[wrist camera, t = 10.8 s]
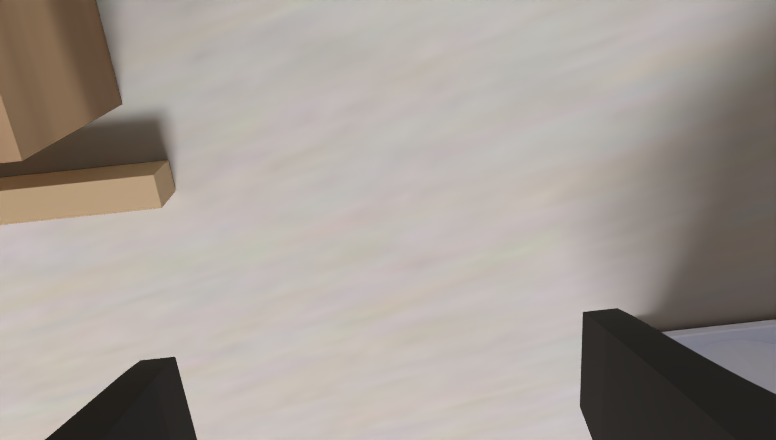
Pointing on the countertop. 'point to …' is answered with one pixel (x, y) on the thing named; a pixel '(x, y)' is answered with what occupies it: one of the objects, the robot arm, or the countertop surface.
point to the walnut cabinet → (51, 73)
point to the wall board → (85, 192)
